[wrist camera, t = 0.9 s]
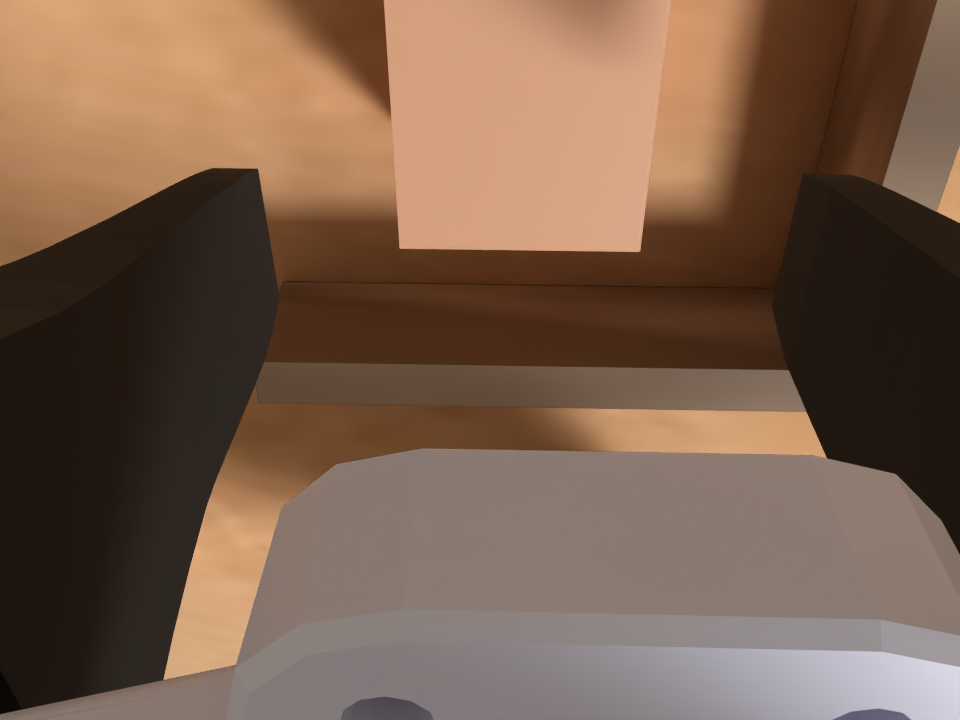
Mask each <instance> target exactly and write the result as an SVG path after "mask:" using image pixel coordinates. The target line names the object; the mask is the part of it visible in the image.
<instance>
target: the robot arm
mask: <svg viewBox="0 0 960 720" xmlns="http://www.w3.org/2000/svg"><path fill="white" fill-rule="evenodd" d="M278 304H279V294H278V288H277V282H276V276H275V270H274V264H273V257H272V251H271V245H270V239H269V233H268V227H267V221H266V215H265V209H264V203H263V197H262V191H261V185H260V179H259V173H258V169H232V168H212V169H209V170H205V171H202V172H200V173H197V174H195V175H192V176H190V177H188V178H186V179H184V180H182V181H180V182H178V183H176V184H174V185H172V186H170V187H168V188H166V189H164V190H162V191H160V192H158V193H156V194H155V195H153V196H151V197H149V198H147V199H145V200H143V201H141V202H139V203H137V204H136V205H134V206H132V207H130V208H128V209H126V210H124V211H122V212H120V213H118V214H117V215H115V216H113V217H111V218H109V219H107V220H105V221H103V222H100V223H98V224H96V225H94V226H92V227H90V228H88V229H86V230H84V231H82V232H80V233H77V234H75V235H73V236H71V237H69V238H67V239H65V240H63V241H61V242H59V243H56V244H54V245H52V246H50V247H48V248H46V249H43V250H41V251H39V252H36V253H34V254H32V255H29V256H27V257H24V258H22V259H19V260H17V261H14V262H12V263H9V264H6V265H3V266H1V267H0V720H960V223H958V222H956V221H954V220H952V219H950V218H948V217H946V216H944V215H942V214H940V213H938V212H936V211H934V210H932V209H930V208H928V207H926V206H924V205H921V204H919V203H917V202H915V201H913V200H911V199H909V198H907V197H905V196H903V195H901V194H899V193H897V192H895V191H893V190H890V189H888V188H886V187H884V186H881V185H879V184H877V183H874V182H872V181H869V180H867V179H864V178H861V177H857V176H854V175H837V174H803V177H802V181H801V185H800V190H799V194H798V198H797V202H796V206H795V211H794V215H793V219H792V223H791V228H790V232H789V236H788V240H787V245H786V249H785V253H784V257H783V261H782V266H781V270H780V274H779V278H778V283H777V287H776V291H775V295H774V300H773V304H772V309H773V313H774V317H775V322H776V326H777V330H778V335H779V339H780V343H781V346H782V350H783V354H784V358H785V361H786V365H787V367H788V370H789V372H790V374H791V377H792V379H793V382H794V384H795V386H796V389H797V391H798V393H799V396H800V398H801V400H802V403H803V405H804V407H805V409H806V412H807V414H808V416H809V418H810V421H811V423H812V425H813V427H814V430H815V432H816V434H817V436H818V439H819V441H820V443H821V445H822V448H823V450H824V452H825V455H826V457H827V458H823V457H818V456H814V455H774V454H716V453H659V452H601V451H544V450H486V449H429V448H421V449H416V450H410V451H405V452H400V453H394V454H389V455H383V456H378V457H372V458H367V459H362V460H356V461H351V462H345V463H340V464H336V465H334V466H333V467H332V468H331V469H329V470H328V471H327V472H326V473H324V474H323V475H322V476H321V477H319V478H318V479H317V480H316V481H314V482H313V483H312V484H311V485H309V486H308V487H307V488H306V489H304V490H303V491H302V492H301V493H299V494H298V495H297V496H296V497H294V498H293V499H292V500H291V501H289V502H288V503H287V504H286V505H284V506H283V507H282V508H281V511H280V515H279V518H278V522H277V525H276V529H275V532H274V536H273V539H272V542H271V546H270V549H269V553H268V556H267V560H266V563H265V567H264V570H263V573H262V577H261V580H260V584H259V587H258V591H257V594H256V598H255V601H254V604H253V608H252V611H251V615H250V618H249V622H248V625H247V629H246V632H245V636H244V639H243V642H242V646H241V649H240V653H239V656H238V660H237V663H236V665H234V666H229V667H224V668H220V669H215V670H210V671H205V672H200V673H196V674H191V675H186V676H181V677H176V678H172V679H167V680H163V678H164V674H165V669H166V665H167V660H168V656H169V651H170V646H171V642H172V637H173V633H174V629H175V625H176V621H177V617H178V613H179V609H180V605H181V600H182V596H183V592H184V588H185V584H186V580H187V576H188V572H189V568H190V564H191V561H192V557H193V553H194V550H195V546H196V543H197V539H198V535H199V532H200V528H201V524H202V521H203V517H204V513H205V510H206V506H207V503H208V501H209V498H210V495H211V492H212V489H213V486H214V484H215V481H216V478H217V476H218V473H219V471H220V468H221V466H222V464H223V461H224V459H225V456H226V454H227V451H228V449H229V447H230V444H231V442H232V439H233V437H234V435H235V432H236V430H237V427H238V425H239V423H240V420H241V418H242V415H243V413H244V411H245V408H246V406H247V403H248V401H249V399H250V396H251V394H252V391H253V389H254V386H255V384H256V381H257V379H258V376H259V374H260V371H261V369H262V366H263V364H264V361H265V358H266V356H267V352H268V348H269V344H270V340H271V336H272V332H273V327H274V322H275V318H276V313H277V308H278Z"/></svg>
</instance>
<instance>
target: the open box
mask: <svg viewBox="0 0 960 720" xmlns="http://www.w3.org/2000/svg"><path fill="white" fill-rule="evenodd" d="M959 145H960V0H858V2H857V6H856V10H855V14H854V18H853V22H852V26H851V30H850V34H849V38H848V43H847V47H846V51H845V55H844V59H843V63H842V67H841V71H840V75H839V79H838V83H837V88H836V92H835V96H834V100H833V104H832V108H831V112H830V116H829V120H828V124H827V129H826V133H825V137H824V141H823V145H822V149H821V153H820V157H819V161H818V165H817V169H816V174H837V175H854V176H857V177H861V178H864V179H867V180H869V181H872V182H874V183H877V184H879V185H881V186H884V187H886V188H888V189H890V190H893V191H895V192H897V193H899V194H901V195H903V196H905V197H907V198H909V199H911V200H913V201H915V202H917V203H919V204H921V205H924V206H926V207H928V208H930V209H932V210H934V211H936V212H937V210H938V207H939V204H940V201H941V198H942V195H943V192H944V189H945V186H946V183H947V180H948V177H949V175H950V172H951V169H952V166H953V163H954V160H955V157H956V154H957V151H958V148H959ZM775 291H776V289H768V288H692V287H617V286H541V285H465V284H390V283H314V282H283V285H282V287H281V289H280V292H279V304H278V308H277V313H276V318H275V322H274V327H273V332H272V336H271V340H270V344H269V348H268V352H267V356H266V358H265V361H264V364H263V366H262V369H261V371H260V374H259V376H258V379H257V381H256V384H255V385H256V390H257V395H258V400H259V403H293V404H354V405H414V406H475V407H535V408H596V409H656V410H717V411H777V412H806V409H805V407H804V405H803V403H802V400H801V398H800V396H799V393H798V391H797V389H796V386H795V384H794V382H793V379H792V377H791V374H790V372H789V370H788V367H787V365H786V361H785V358H784V354H783V350H782V346H781V343H780V339H779V335H778V330H777V326H776V322H775V317H774V313H773V309H772V304H773V300H774V295H775Z"/></svg>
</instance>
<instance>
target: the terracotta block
mask: <svg viewBox="0 0 960 720" xmlns="http://www.w3.org/2000/svg"><path fill="white" fill-rule="evenodd" d="M670 7H671V0H384V11H385V26H386V42H387V58H388V74H389V90H390V105H391V121H392V137H393V153H394V168H395V184H396V200H397V216H398V231H399V247H400V249H464V250H537V251H611V252H640V248H641V240H642V232H643V224H644V216H645V208H646V200H647V192H648V184H649V176H650V168H651V160H652V151H653V143H654V135H655V127H656V119H657V111H658V103H659V95H660V87H661V79H662V71H663V63H664V55H665V47H666V39H667V31H668V23H669V15H670Z"/></svg>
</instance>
